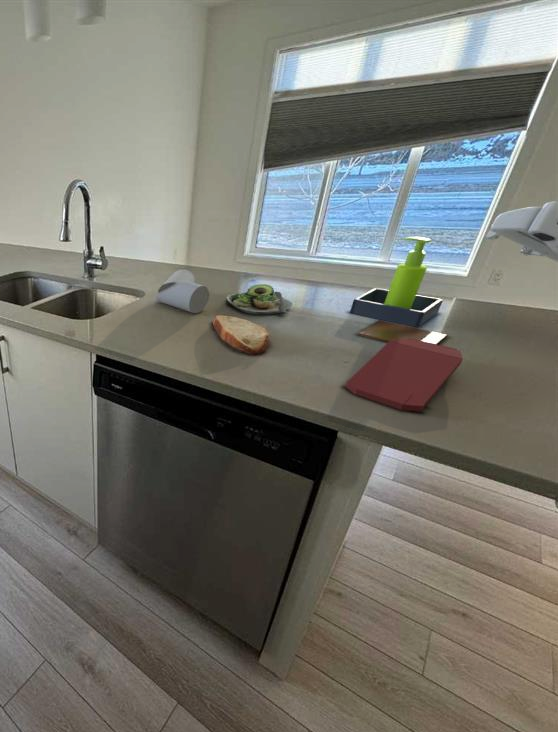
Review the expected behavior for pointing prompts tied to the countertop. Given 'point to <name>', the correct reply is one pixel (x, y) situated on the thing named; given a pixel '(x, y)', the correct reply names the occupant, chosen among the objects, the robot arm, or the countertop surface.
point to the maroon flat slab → (405, 373)
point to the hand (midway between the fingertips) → (506, 243)
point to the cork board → (400, 333)
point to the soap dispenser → (408, 276)
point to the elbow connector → (183, 292)
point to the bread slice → (242, 334)
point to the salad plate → (259, 301)
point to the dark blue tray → (395, 308)
